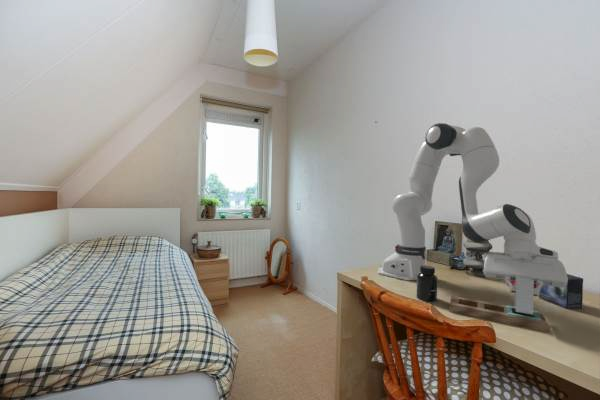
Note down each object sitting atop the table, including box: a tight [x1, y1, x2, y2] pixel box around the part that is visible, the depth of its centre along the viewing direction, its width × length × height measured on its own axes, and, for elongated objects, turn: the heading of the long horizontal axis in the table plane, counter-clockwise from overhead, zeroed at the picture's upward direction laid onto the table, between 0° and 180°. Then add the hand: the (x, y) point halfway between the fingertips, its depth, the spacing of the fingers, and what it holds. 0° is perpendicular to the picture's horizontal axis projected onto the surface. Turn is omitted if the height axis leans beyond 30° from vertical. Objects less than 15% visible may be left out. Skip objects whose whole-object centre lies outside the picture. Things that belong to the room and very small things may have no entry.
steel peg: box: [513, 275, 535, 315], centre depth 83 cm, size 4×4×10 cm
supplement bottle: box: [416, 265, 439, 303], centre depth 101 cm, size 7×7×12 cm
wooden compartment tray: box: [448, 295, 549, 333], centre depth 87 cm, size 24×9×3 cm, turn 57°
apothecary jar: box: [462, 238, 493, 278], centre depth 135 cm, size 12×12×18 cm
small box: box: [538, 273, 584, 310], centre depth 100 cm, size 11×6×10 cm, turn 5°
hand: (524, 293), depth 83 cm, fingers closed on steel peg, 4 cm apart
